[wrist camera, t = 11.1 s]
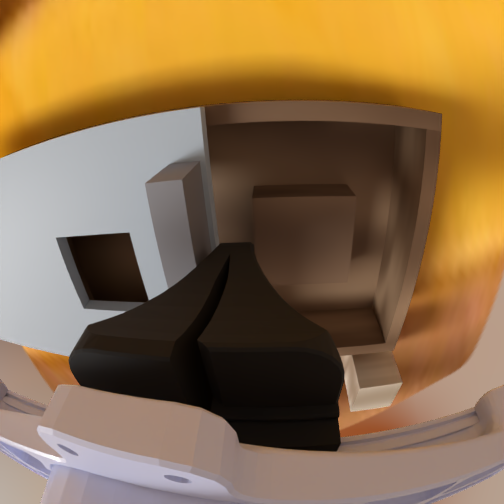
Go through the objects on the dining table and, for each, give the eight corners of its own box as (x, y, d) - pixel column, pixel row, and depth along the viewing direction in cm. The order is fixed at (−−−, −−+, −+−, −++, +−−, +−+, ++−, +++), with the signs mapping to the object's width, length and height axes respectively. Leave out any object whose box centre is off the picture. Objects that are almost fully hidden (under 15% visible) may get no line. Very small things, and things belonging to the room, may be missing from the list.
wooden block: (372, 347, 23) (389, 406, 17) (338, 350, 23) (350, 411, 18) (380, 321, 21) (402, 382, 16) (344, 324, 21) (359, 388, 16)
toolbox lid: (236, 363, 17) (231, 408, 14) (0, 332, 19) (-18, 356, 16) (204, 106, 10) (180, 111, 7) (-61, 188, 12) (-89, 206, 9)
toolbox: (377, 307, 20) (393, 350, 17) (97, 309, 22) (75, 345, 18) (402, 106, 13) (441, 113, 10) (46, 140, 15) (3, 157, 11)
